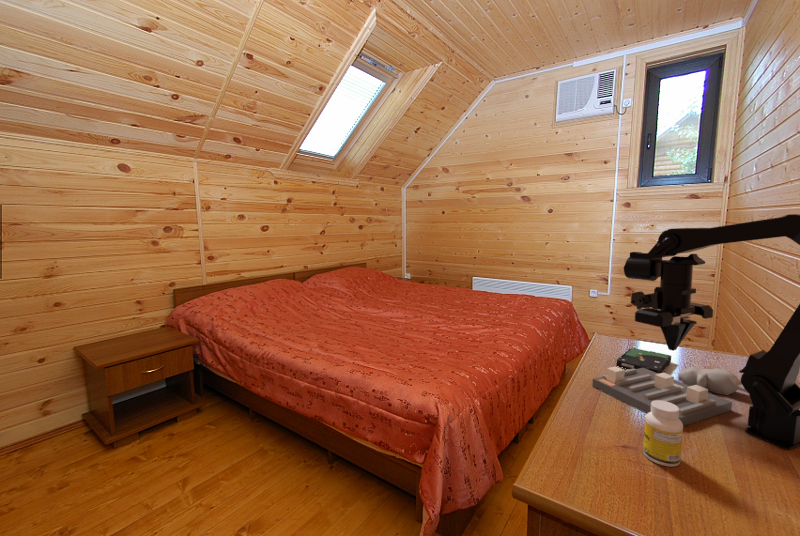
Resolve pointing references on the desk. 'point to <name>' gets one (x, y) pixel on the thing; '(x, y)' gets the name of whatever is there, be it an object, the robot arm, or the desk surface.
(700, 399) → the tab near
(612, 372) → the tab far
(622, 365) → the disk drive
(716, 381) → the bunny figurine
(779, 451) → the desk surface
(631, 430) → the desk surface
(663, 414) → the supplement bottle
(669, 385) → the tab middle
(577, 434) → the desk surface
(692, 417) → the switch panel
